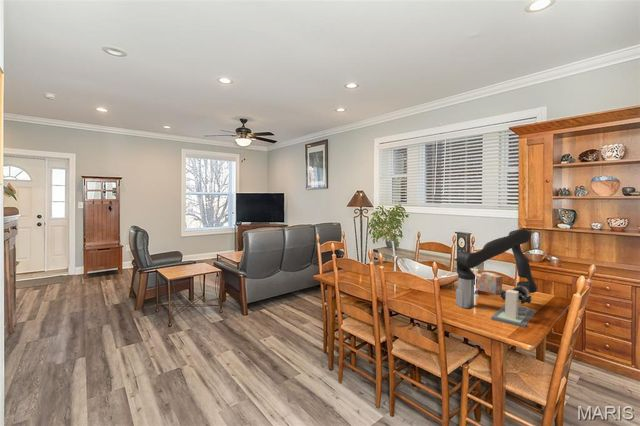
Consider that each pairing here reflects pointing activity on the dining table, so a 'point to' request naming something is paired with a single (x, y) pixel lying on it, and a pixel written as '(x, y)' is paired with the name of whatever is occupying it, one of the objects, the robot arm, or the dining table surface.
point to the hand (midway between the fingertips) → (512, 300)
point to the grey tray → (520, 321)
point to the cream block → (511, 304)
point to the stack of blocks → (489, 282)
